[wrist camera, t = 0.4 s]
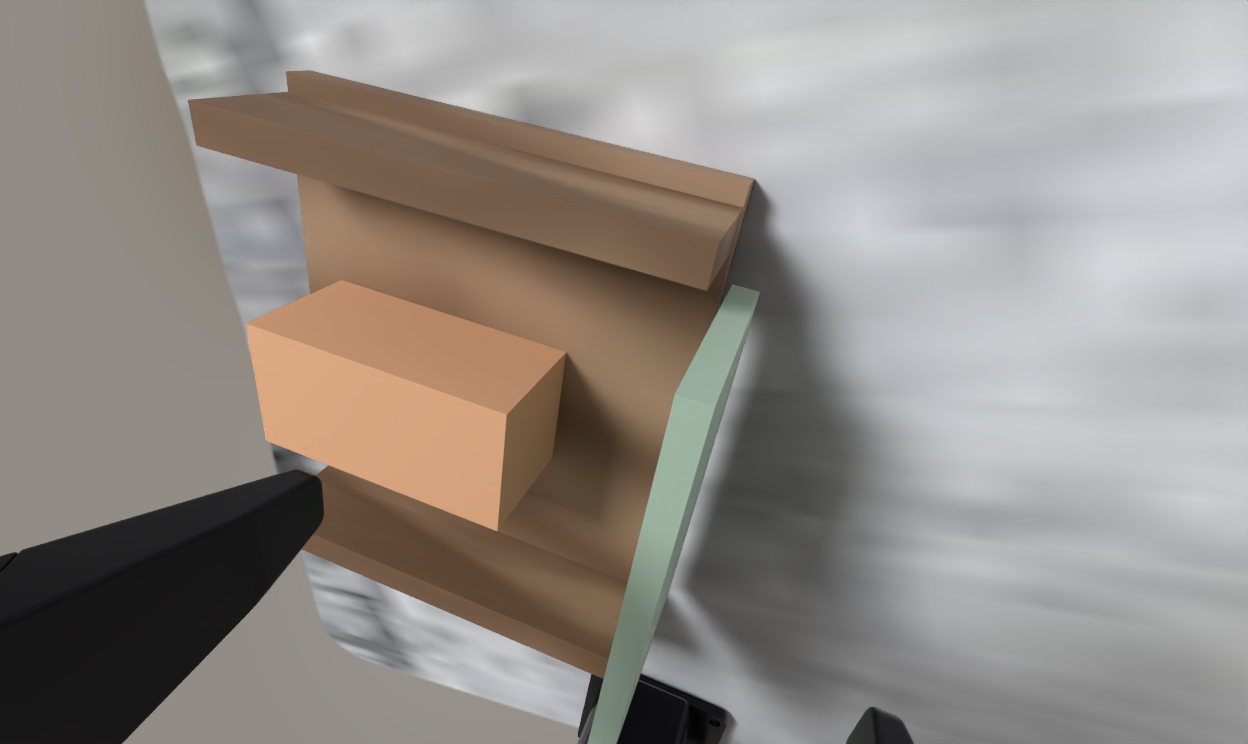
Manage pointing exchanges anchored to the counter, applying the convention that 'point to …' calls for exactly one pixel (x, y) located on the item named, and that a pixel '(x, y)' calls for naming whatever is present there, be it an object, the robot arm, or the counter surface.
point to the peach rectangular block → (409, 398)
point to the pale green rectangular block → (672, 504)
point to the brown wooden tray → (506, 325)
